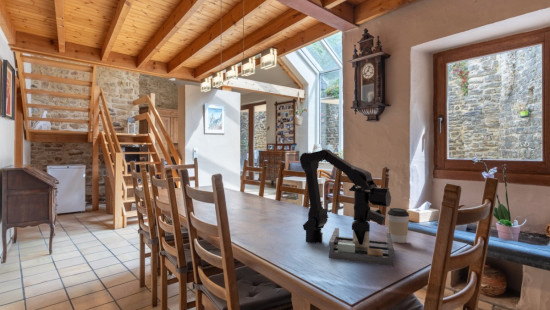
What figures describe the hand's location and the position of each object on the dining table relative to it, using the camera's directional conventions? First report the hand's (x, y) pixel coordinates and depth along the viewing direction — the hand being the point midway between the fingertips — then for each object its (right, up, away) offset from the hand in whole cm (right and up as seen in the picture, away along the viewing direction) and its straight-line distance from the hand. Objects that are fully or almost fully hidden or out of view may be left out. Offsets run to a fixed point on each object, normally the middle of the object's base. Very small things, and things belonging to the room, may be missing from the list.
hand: (361, 243), depth 114 cm
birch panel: (0, -4, 0) cm, 4 cm away
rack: (0, -5, 0) cm, 4 cm away
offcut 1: (-7, -4, -5) cm, 9 cm away
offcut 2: (+3, -4, -8) cm, 9 cm away
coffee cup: (+21, -5, +16) cm, 27 cm away
